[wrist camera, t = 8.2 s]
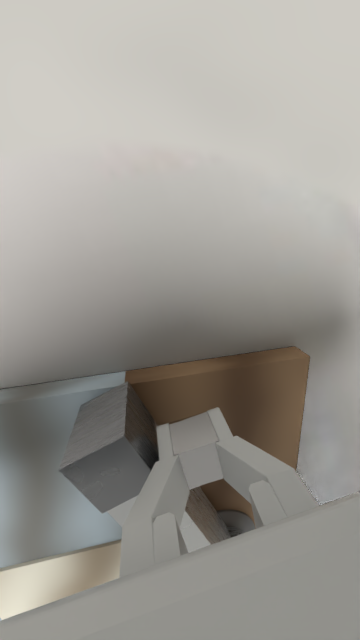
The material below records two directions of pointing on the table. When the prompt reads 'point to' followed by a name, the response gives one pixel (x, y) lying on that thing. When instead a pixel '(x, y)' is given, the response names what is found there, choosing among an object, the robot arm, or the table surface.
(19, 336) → the table surface
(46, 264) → the table surface
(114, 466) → the swing bar
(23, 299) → the table surface
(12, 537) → the door board
